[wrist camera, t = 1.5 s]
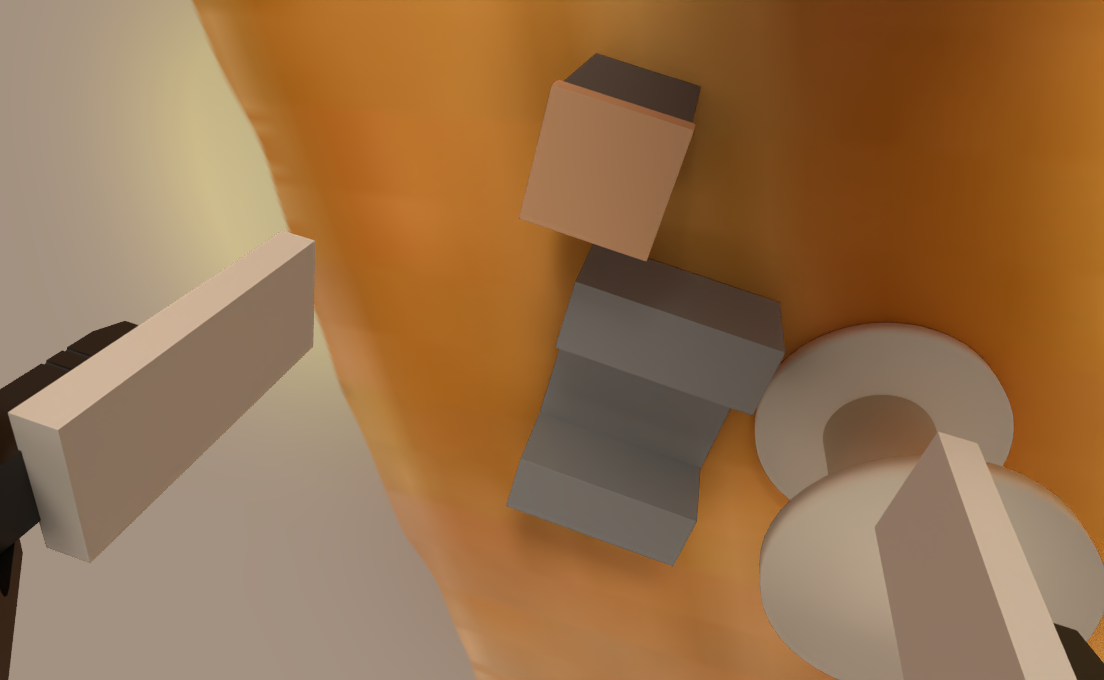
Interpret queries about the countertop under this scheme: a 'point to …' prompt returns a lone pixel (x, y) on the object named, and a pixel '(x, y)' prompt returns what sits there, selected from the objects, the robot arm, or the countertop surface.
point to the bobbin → (889, 488)
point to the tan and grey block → (610, 154)
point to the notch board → (642, 400)
